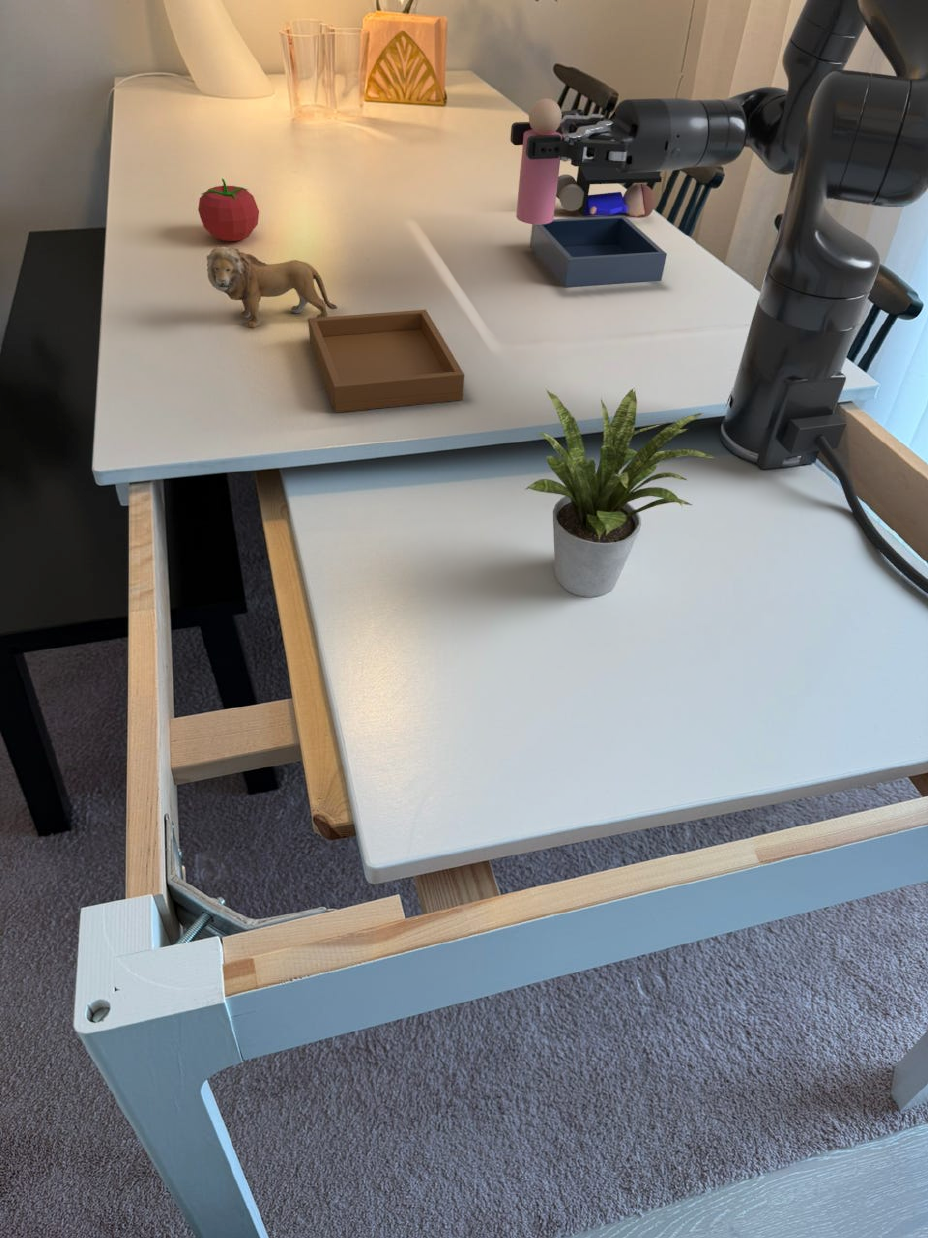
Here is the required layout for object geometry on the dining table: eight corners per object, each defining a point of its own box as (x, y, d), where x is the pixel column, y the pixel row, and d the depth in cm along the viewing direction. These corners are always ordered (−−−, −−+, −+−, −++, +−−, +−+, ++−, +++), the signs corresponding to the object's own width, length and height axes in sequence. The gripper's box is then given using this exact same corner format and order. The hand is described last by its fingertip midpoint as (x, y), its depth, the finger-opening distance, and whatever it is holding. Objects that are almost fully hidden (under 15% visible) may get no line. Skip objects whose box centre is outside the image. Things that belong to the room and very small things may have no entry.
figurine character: (560, 235, 137) (659, 225, 138) (561, 182, 132) (663, 171, 132) (551, 219, 142) (647, 208, 142) (552, 166, 136) (651, 156, 137)
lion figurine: (219, 337, 105) (209, 258, 98) (209, 317, 108) (198, 239, 102) (343, 320, 109) (341, 244, 103) (330, 302, 113) (326, 227, 107)
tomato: (199, 228, 127) (191, 169, 122) (256, 225, 130) (250, 167, 124) (206, 251, 122) (198, 190, 117) (265, 247, 124) (260, 187, 119)
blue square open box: (660, 287, 122) (667, 253, 119) (564, 294, 118) (568, 259, 115) (618, 247, 131) (624, 215, 128) (529, 253, 128) (532, 220, 125)
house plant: (698, 645, 72) (755, 469, 61) (523, 648, 71) (548, 468, 59) (656, 532, 82) (698, 364, 71) (502, 533, 81) (521, 362, 70)
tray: (462, 400, 97) (464, 374, 95) (335, 413, 94) (334, 386, 92) (425, 333, 108) (425, 309, 106) (309, 343, 105) (308, 317, 103)
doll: (558, 223, 108) (573, 103, 99) (523, 225, 107) (534, 104, 98) (545, 210, 111) (558, 92, 102) (511, 211, 110) (521, 93, 101)
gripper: (636, 82, 109) (500, 85, 105) (694, 117, 99) (546, 122, 95) (625, 150, 114) (495, 156, 110) (679, 190, 104) (538, 198, 100)
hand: (520, 140), depth 102 cm, fingers closed on doll, 4 cm apart
